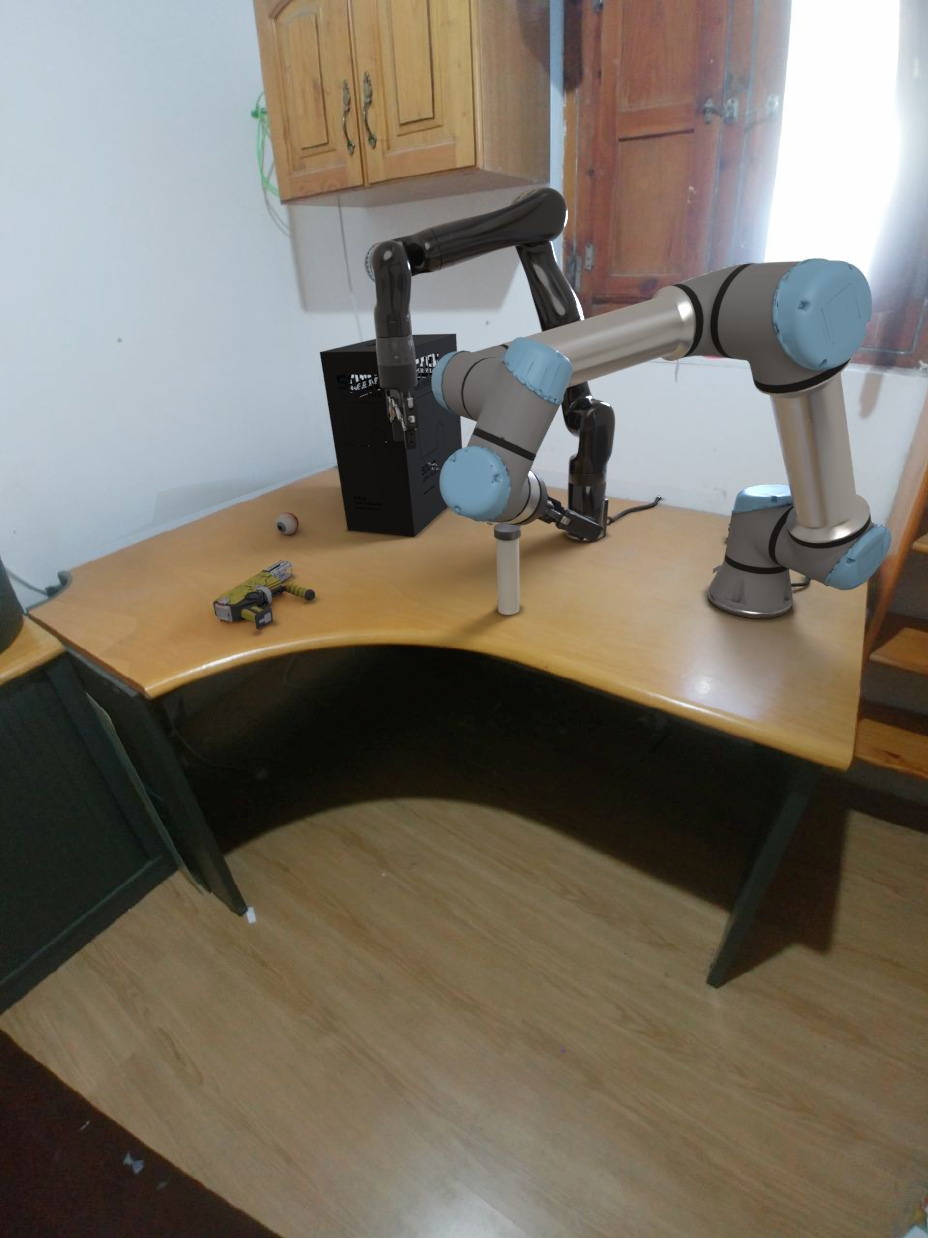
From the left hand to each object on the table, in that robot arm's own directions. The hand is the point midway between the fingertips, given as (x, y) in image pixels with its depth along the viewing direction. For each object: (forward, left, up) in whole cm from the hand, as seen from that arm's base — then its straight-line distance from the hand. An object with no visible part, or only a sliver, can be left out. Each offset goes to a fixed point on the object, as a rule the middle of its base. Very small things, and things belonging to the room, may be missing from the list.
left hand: (404, 444), depth 126 cm
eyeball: (+24, -39, -29) cm, 55 cm away
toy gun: (+32, +1, -29) cm, 43 cm away
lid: (-11, +26, -12) cm, 31 cm away
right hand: (-12, +42, -3) cm, 44 cm away
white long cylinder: (-11, +26, -29) cm, 41 cm away
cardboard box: (-11, -41, -29) cm, 52 cm away
